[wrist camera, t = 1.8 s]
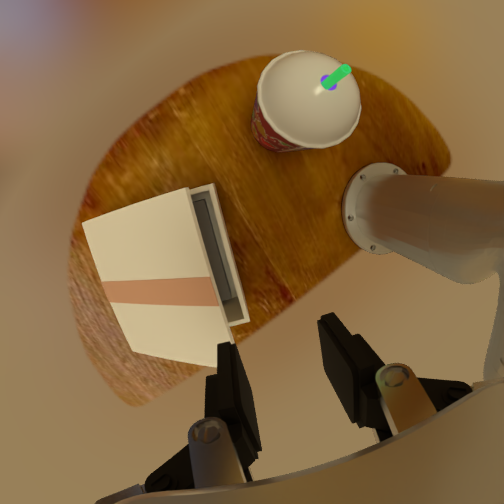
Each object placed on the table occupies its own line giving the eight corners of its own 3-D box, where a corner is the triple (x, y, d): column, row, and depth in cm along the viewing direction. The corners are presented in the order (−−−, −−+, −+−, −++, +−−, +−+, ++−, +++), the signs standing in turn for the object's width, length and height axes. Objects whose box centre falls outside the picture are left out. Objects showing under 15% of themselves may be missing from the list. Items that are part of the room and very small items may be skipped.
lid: (188, 186, 19) (184, 187, 18) (243, 367, 23) (240, 371, 23) (84, 221, 25) (81, 223, 25) (134, 349, 29) (132, 351, 29)
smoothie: (312, 159, 33) (412, 144, 14) (244, 160, 32) (277, 135, 13) (308, 96, 31) (393, 28, 12) (241, 95, 30) (267, 4, 11)
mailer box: (214, 182, 33) (212, 183, 26) (244, 296, 37) (250, 321, 30) (109, 215, 32) (86, 223, 26) (146, 320, 36) (134, 346, 30)
